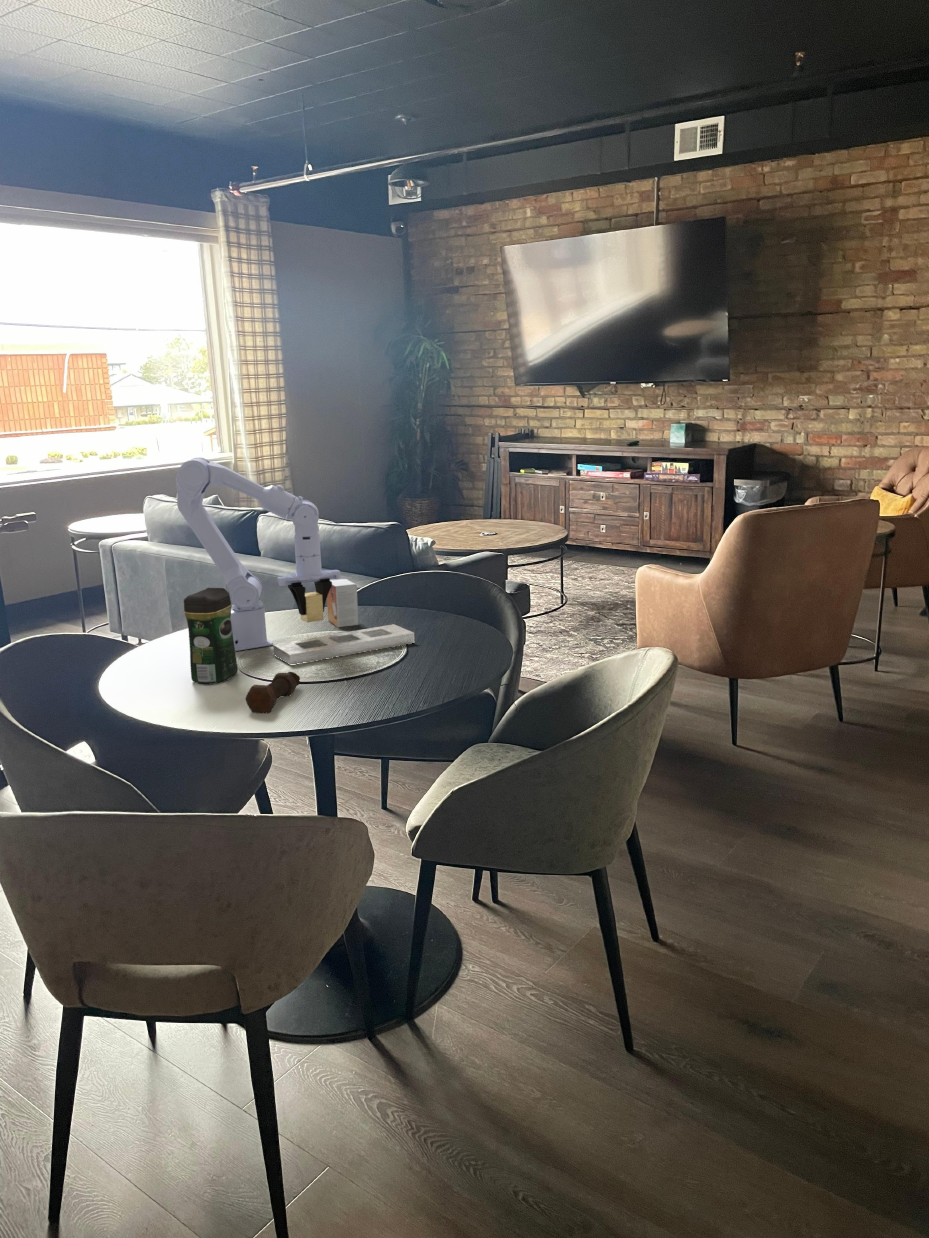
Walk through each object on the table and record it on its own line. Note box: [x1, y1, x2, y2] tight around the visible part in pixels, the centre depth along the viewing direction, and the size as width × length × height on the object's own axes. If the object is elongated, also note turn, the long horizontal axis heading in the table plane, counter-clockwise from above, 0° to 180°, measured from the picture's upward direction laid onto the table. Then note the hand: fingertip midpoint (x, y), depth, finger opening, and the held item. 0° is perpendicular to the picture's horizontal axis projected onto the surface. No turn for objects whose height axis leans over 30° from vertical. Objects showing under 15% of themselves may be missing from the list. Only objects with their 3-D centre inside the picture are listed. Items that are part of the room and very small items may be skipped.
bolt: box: [244, 671, 301, 714], centre depth 172 cm, size 6×5×15 cm
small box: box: [326, 578, 359, 628], centre depth 229 cm, size 8×6×10 cm
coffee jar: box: [183, 587, 239, 686], centre depth 184 cm, size 10×8×19 cm
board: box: [272, 623, 415, 664], centre depth 205 cm, size 30×10×2 cm, turn 122°
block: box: [300, 591, 324, 623], centre depth 211 cm, size 4×4×6 cm
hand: (311, 612), depth 212 cm, fingers closed on block, 4 cm apart
